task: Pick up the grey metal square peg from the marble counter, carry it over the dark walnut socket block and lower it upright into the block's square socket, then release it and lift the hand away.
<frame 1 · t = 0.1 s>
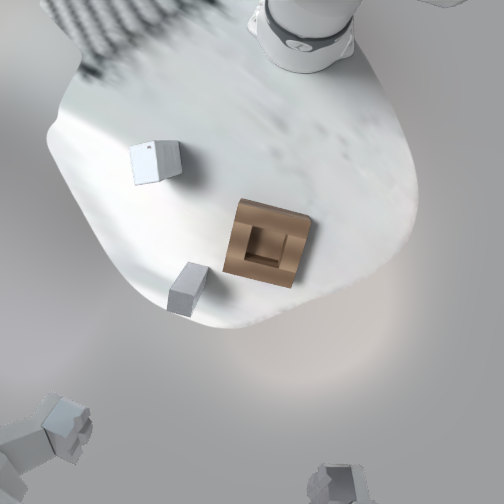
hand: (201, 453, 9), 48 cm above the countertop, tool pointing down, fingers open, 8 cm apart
skincare box: (170, 159, 53), on the countertop
walnut socket block: (266, 238, 56), on the countertop
metal peg: (196, 273, 59), on the countertop
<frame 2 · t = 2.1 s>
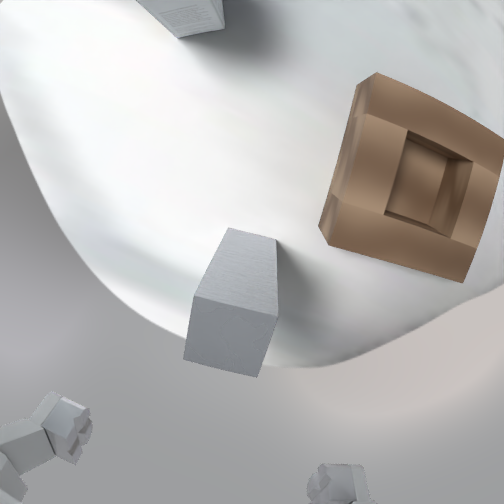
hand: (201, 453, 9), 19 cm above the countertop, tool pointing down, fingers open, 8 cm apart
skincare box: (198, 7, 20), on the countertop
walnut socket block: (404, 177, 23), on the countertop
metal peg: (246, 255, 26), on the countertop
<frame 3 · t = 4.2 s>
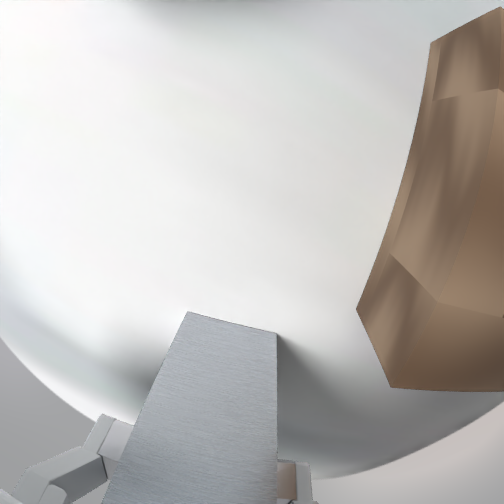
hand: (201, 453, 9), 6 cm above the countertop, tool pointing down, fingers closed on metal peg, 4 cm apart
walnut socket block: (501, 218, 11), on the countertop
metal peg: (223, 357, 14), on the countertop, touching gripper
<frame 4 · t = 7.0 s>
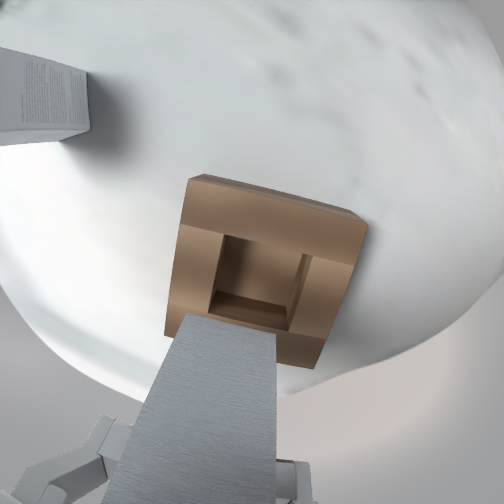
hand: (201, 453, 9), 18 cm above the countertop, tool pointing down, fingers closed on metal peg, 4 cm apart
skincare box: (72, 107, 23), on the countertop
walnut socket block: (260, 261, 26), on the countertop
metal peg: (222, 358, 14), point 13 cm above the countertop, touching gripper
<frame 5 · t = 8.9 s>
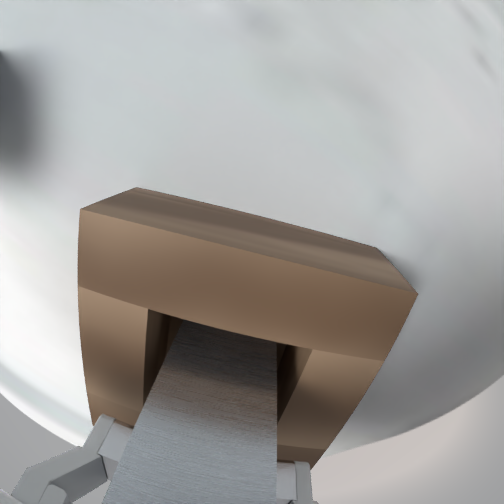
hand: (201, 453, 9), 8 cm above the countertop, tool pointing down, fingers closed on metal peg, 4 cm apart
walnut socket block: (229, 324, 16), on the countertop
metal peg: (222, 358, 14), point 3 cm above the countertop, touching gripper
when the fingers open (7 cm above the countertop, at t = 10.0 s): metal peg stays where it is, resting on walnut socket block.
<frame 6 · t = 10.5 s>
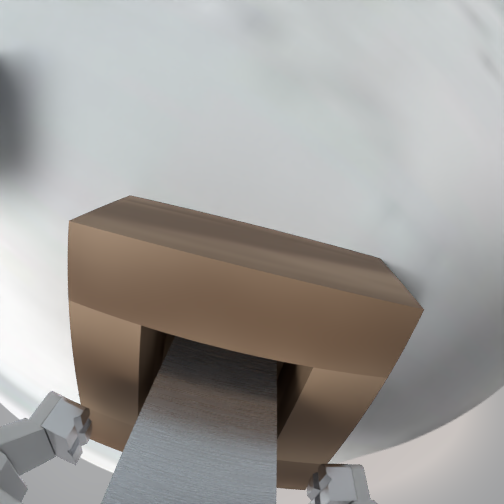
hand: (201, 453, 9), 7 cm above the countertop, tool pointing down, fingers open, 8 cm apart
walnut socket block: (227, 336, 16), on the countertop
metal peg: (224, 348, 15), point 1 cm above the countertop, touching walnut socket block
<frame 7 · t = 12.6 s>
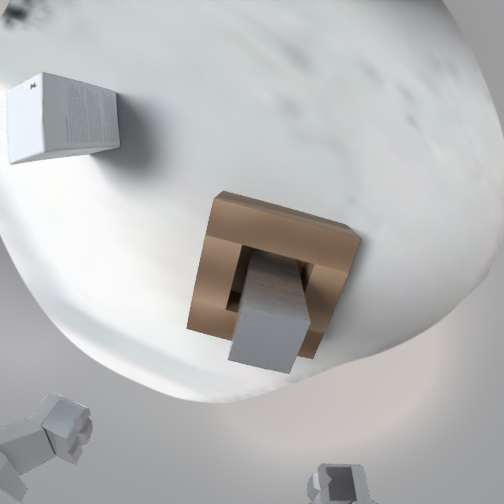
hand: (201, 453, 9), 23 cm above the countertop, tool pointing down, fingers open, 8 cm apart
skincare box: (102, 124, 27), on the countertop
walnut socket block: (269, 266, 31), on the countertop
metal peg: (268, 270, 30), point 1 cm above the countertop, touching walnut socket block
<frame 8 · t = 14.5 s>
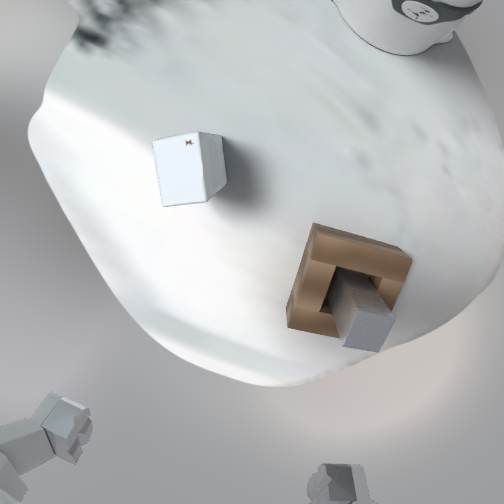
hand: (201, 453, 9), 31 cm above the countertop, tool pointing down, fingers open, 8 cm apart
skincare box: (207, 162, 36), on the countertop
walnut socket block: (342, 278, 40), on the countertop
metal peg: (344, 281, 39), point 1 cm above the countertop, touching walnut socket block
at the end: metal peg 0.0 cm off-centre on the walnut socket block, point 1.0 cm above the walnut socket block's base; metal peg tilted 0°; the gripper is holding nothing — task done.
